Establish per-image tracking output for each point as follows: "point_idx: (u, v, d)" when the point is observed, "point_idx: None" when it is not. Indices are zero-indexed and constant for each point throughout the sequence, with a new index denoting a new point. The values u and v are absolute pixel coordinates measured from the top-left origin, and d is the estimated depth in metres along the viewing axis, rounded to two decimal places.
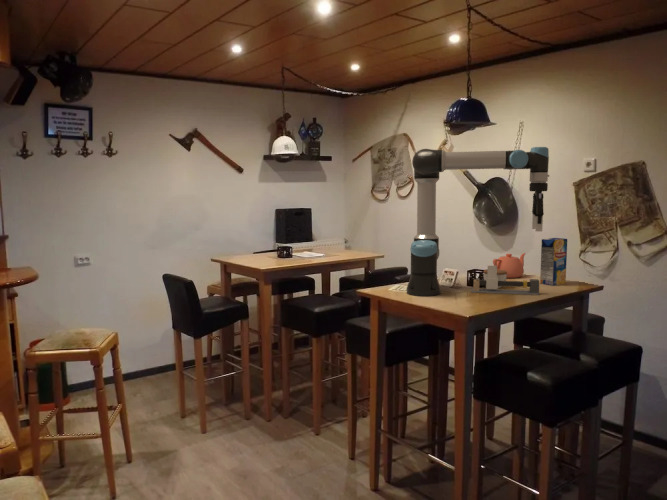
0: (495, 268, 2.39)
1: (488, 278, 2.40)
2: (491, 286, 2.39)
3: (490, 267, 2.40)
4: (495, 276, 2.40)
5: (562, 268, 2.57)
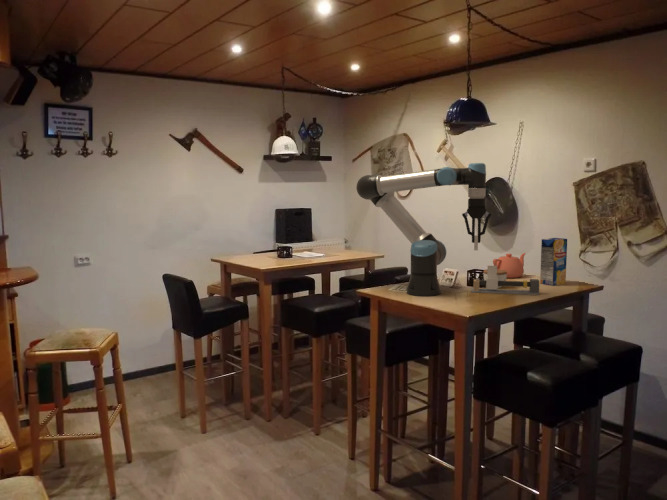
0: (495, 268, 2.39)
1: (488, 278, 2.40)
2: (491, 286, 2.39)
3: (490, 267, 2.40)
4: (495, 276, 2.40)
5: (562, 268, 2.57)
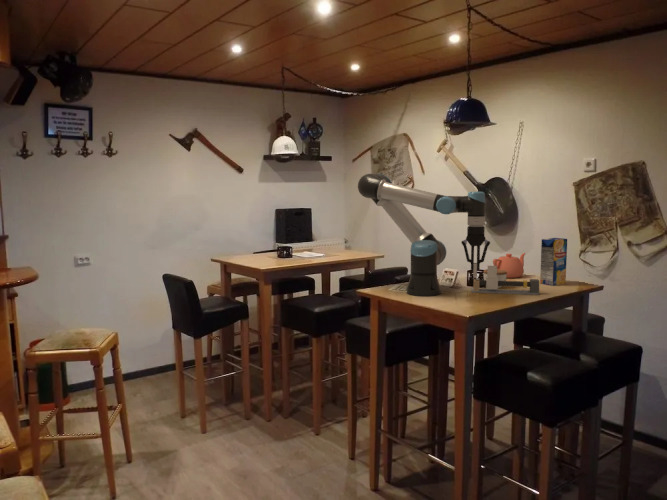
0: (495, 268, 2.39)
1: (488, 278, 2.40)
2: (491, 286, 2.39)
3: (490, 267, 2.40)
4: (495, 276, 2.40)
5: (562, 268, 2.57)
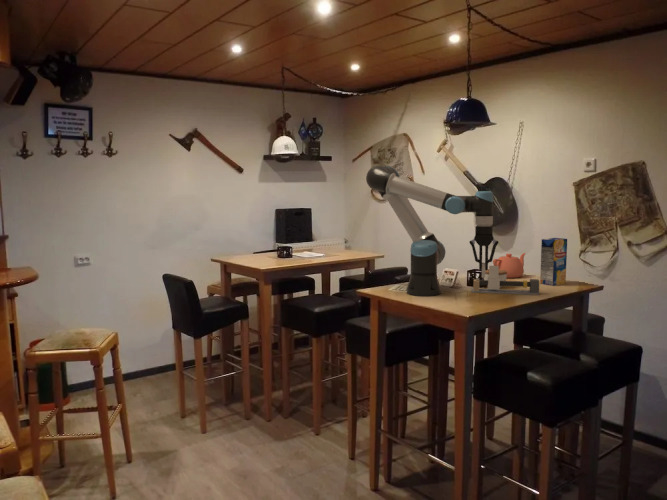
0: (497, 268, 2.39)
1: (490, 278, 2.39)
2: (493, 286, 2.39)
3: (492, 267, 2.39)
4: (497, 276, 2.39)
5: (562, 268, 2.57)
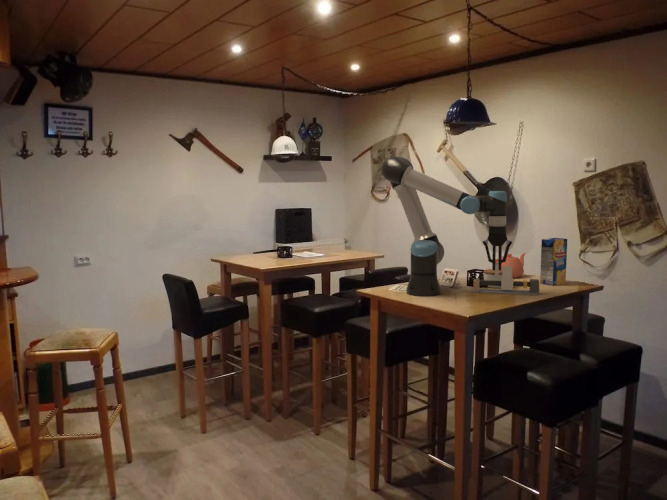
0: (510, 268, 2.38)
1: (503, 278, 2.38)
2: (506, 287, 2.37)
3: (505, 267, 2.38)
4: (510, 276, 2.38)
5: (562, 268, 2.57)
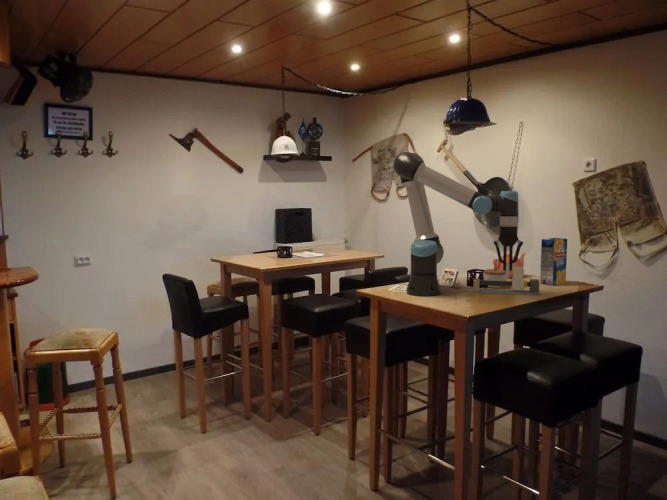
0: (521, 269, 2.36)
1: (514, 279, 2.37)
2: (517, 287, 2.36)
3: (516, 268, 2.37)
4: (521, 277, 2.37)
5: (562, 268, 2.57)
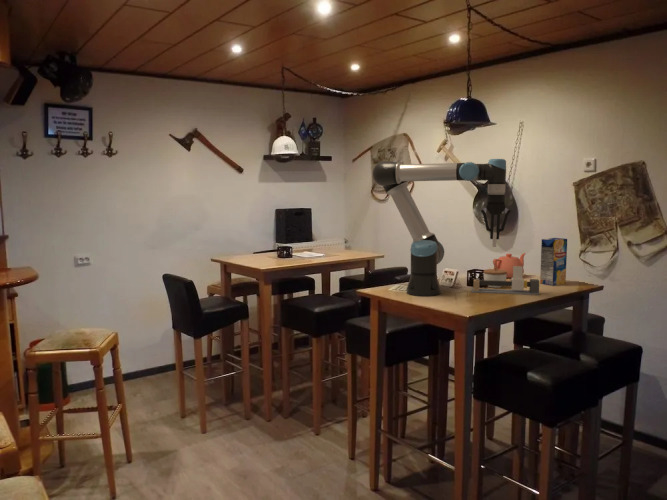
0: (521, 269, 2.36)
1: (514, 279, 2.37)
2: (517, 287, 2.36)
3: (516, 268, 2.37)
4: (521, 277, 2.37)
5: (562, 268, 2.57)
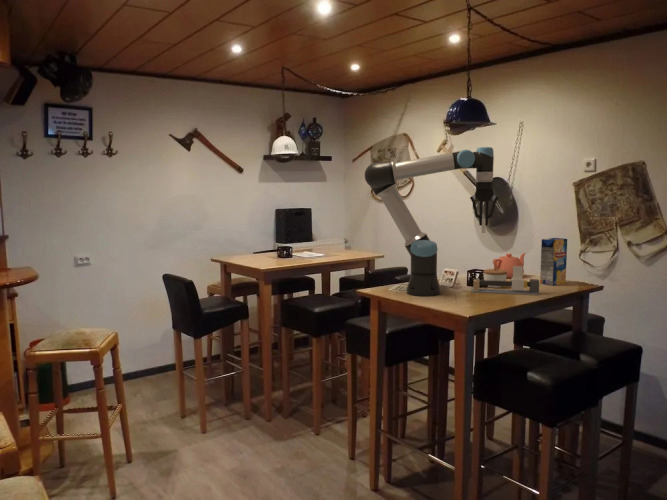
0: (521, 269, 2.36)
1: (514, 279, 2.37)
2: (517, 287, 2.36)
3: (516, 268, 2.37)
4: (521, 277, 2.37)
5: (562, 268, 2.57)
